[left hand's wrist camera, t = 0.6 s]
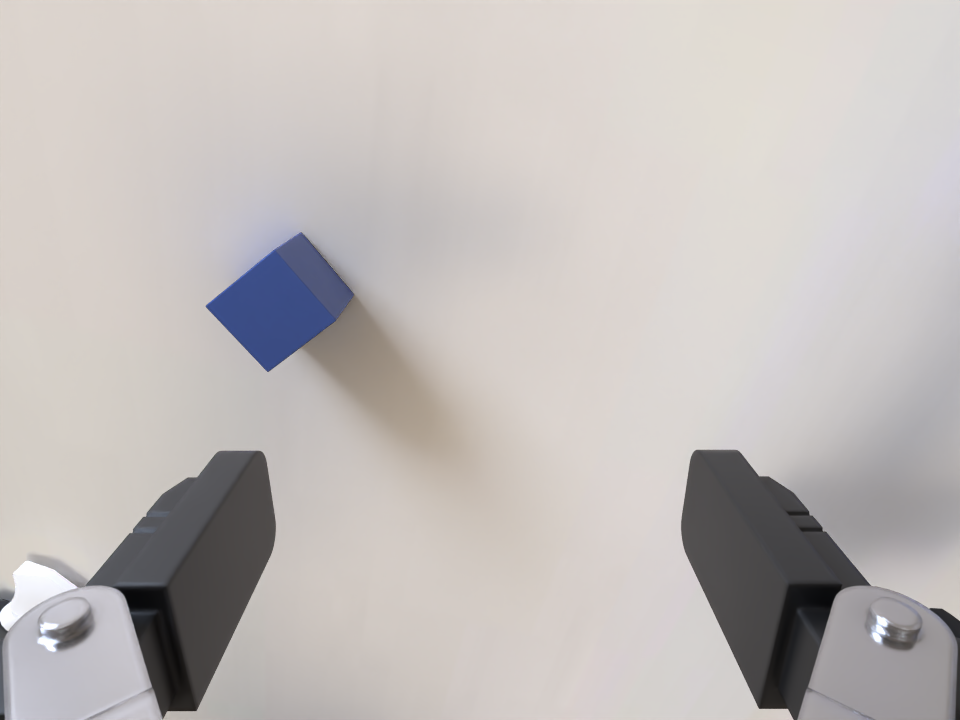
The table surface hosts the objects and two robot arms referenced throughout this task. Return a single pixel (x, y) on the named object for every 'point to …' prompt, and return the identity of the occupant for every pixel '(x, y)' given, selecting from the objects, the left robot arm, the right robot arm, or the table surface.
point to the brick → (282, 302)
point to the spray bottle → (30, 592)
